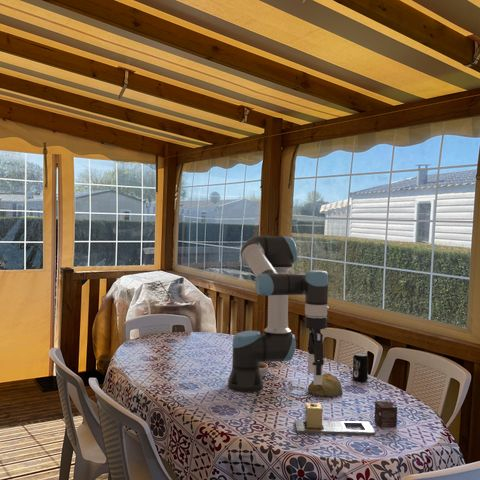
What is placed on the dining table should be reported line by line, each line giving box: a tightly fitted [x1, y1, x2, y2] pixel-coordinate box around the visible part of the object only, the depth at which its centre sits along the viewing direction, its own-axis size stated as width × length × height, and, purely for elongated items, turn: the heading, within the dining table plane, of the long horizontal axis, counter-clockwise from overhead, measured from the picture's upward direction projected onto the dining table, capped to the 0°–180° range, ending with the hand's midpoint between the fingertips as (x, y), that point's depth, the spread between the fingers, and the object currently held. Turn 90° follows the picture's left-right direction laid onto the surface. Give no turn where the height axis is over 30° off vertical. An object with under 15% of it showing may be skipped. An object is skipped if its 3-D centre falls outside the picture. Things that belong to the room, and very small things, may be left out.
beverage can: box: [352, 351, 369, 383], centre depth 227 cm, size 7×7×12 cm
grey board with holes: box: [294, 419, 376, 436], centre depth 171 cm, size 26×9×1 cm, turn 90°
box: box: [373, 400, 398, 429], centre depth 176 cm, size 6×6×7 cm
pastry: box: [307, 372, 344, 398], centre depth 209 cm, size 14×12×8 cm
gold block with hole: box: [304, 402, 323, 430], centre depth 171 cm, size 5×5×8 cm
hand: (314, 378), depth 171 cm, fingers open, 13 cm apart
